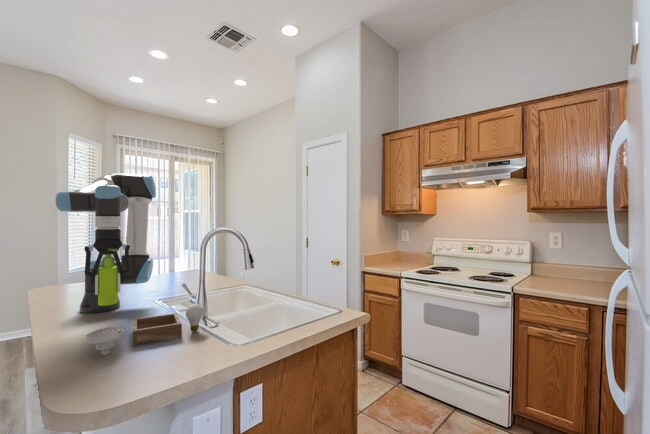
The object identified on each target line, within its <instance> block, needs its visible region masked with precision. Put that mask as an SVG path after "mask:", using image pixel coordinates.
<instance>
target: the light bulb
mask: <svg viewBox="0 0 650 434" xmlns="http://www.w3.org/2000/svg"><path fill="white" fill-rule="evenodd" d="M203 315H204V309H203V307H202V306H201V305H200V304H198V303H193V304H191V305H189V306H188V307H187V309H186V311H185V316H186V317H185V318H187V320H188V322H189V325H190V331H191V332H193V333H196V332H198V330H199V327H200V326H199V325H200V321H201V320H202V317H203Z"/></svg>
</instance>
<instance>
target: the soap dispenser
mask: <svg viewBox="0 0 650 434" xmlns="http://www.w3.org/2000/svg"><path fill="white" fill-rule="evenodd" d="M108 250H111V251H117V252H119V251H120V248H119V249H111V248H110V249H108ZM102 258H103V267H99V268H98V305H99V306H108V305H113V304H116V303H118V297H119V292H118V266H114V256H112V254H106V255H104V257H102Z"/></svg>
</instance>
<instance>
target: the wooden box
mask: <svg viewBox="0 0 650 434" xmlns="http://www.w3.org/2000/svg"><path fill="white" fill-rule="evenodd" d="M182 324H183V323H182V320H181V319H180V317H179V314H178V313H177V312H175V313H167V314H160V315H152V316H146V317H139V318H133V319H132V347H133V348H134V347H139V346H145V345H151V344H155V343H156V344H157V343H161V342H167V341H172V340H179V339H183V338H182V337H183V334H182V333H183V332H182V331H183V329H182V327H183V326H182Z"/></svg>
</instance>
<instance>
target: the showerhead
mask: <svg viewBox="0 0 650 434" xmlns="http://www.w3.org/2000/svg"><path fill="white" fill-rule="evenodd" d="M124 335H125V329H124V328H121V327H115V326H114V327H111V326H110V327H108V328H107V327H105V328H101V329H100V328H99V329H96V330H93V331H92V332H90V333H88V334H86V342H87V343H89V344H95V349H96V350H97V351H100V354H101V356H106V355H108V354H110V353H111V352H110V351H111V349H112V348H113V347H115V346H116V340H118V339H120V338H122V337H123V336H124Z"/></svg>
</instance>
